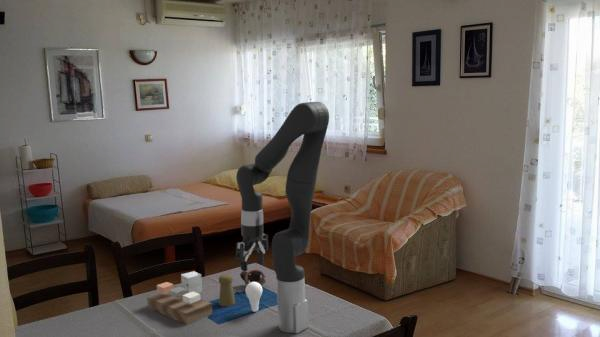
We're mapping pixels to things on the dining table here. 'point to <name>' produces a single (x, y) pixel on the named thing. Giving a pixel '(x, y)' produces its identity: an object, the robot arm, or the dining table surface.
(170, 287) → the terracotta key
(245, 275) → the pottery mug
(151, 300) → the key panel
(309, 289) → the dining table surface
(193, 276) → the skincare box
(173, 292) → the grey key
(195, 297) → the off-white key
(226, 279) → the olive rounded waisted cylinder
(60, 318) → the dining table surface
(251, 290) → the lightbulb
